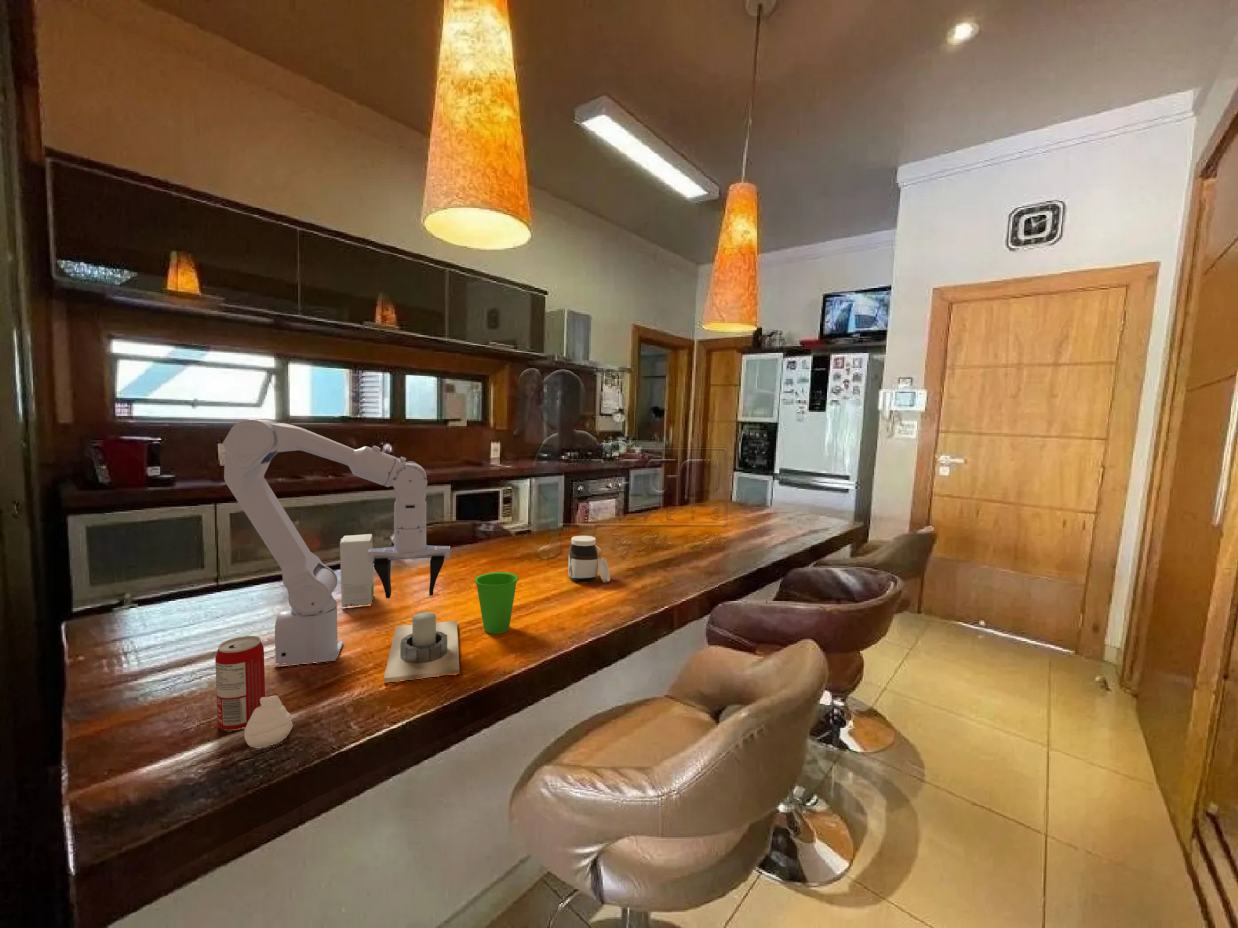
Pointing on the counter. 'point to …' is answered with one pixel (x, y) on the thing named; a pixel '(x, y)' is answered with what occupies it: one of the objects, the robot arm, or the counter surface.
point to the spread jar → (586, 561)
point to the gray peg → (423, 629)
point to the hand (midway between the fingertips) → (410, 595)
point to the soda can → (239, 680)
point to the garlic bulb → (268, 723)
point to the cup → (496, 600)
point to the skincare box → (356, 570)
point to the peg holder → (423, 654)
